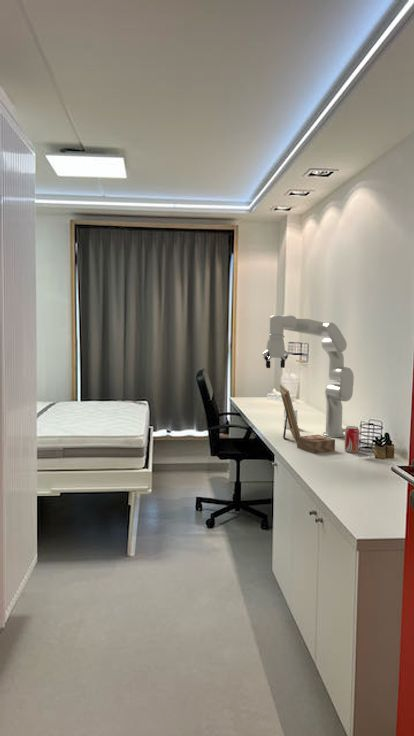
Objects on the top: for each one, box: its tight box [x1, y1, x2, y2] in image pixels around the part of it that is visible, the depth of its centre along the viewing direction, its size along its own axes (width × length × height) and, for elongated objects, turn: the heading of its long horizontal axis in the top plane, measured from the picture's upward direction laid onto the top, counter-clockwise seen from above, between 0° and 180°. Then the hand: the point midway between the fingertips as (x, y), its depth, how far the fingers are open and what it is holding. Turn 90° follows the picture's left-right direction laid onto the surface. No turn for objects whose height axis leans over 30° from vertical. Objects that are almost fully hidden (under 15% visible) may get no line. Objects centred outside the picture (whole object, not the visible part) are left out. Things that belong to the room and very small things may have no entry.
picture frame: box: [279, 384, 301, 441], centre depth 309 cm, size 33×10×30 cm, turn 179°
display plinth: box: [296, 434, 336, 454], centre depth 283 cm, size 14×14×6 cm
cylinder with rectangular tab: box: [282, 408, 298, 430], centre depth 344 cm, size 9×9×12 cm
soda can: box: [344, 425, 360, 454], centre depth 279 cm, size 7×7×13 cm
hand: (275, 367), depth 300 cm, fingers open, 9 cm apart
